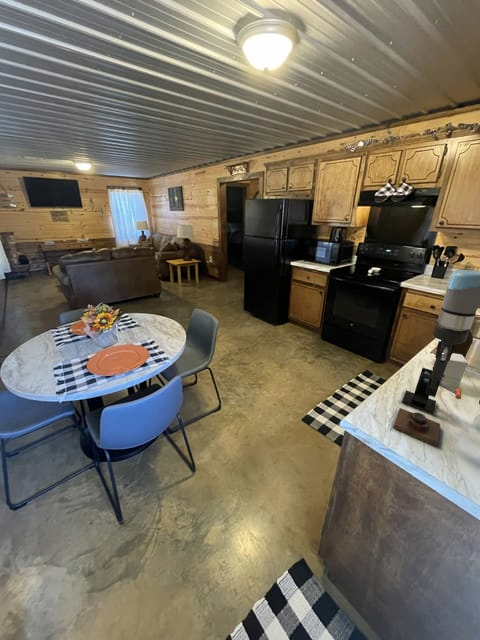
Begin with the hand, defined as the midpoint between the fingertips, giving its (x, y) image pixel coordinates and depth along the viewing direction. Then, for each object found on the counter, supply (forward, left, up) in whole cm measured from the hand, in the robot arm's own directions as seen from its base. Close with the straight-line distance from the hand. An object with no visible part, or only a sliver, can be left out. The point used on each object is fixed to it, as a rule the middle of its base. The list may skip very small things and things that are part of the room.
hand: (430, 394), depth 83 cm
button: (+1, +1, -11) cm, 11 cm away
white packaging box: (-5, -37, -14) cm, 40 cm away
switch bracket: (+2, -14, -14) cm, 20 cm away
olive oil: (-5, -53, -14) cm, 56 cm away
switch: (-3, -14, -4) cm, 15 cm away
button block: (+1, +1, -14) cm, 14 cm away
